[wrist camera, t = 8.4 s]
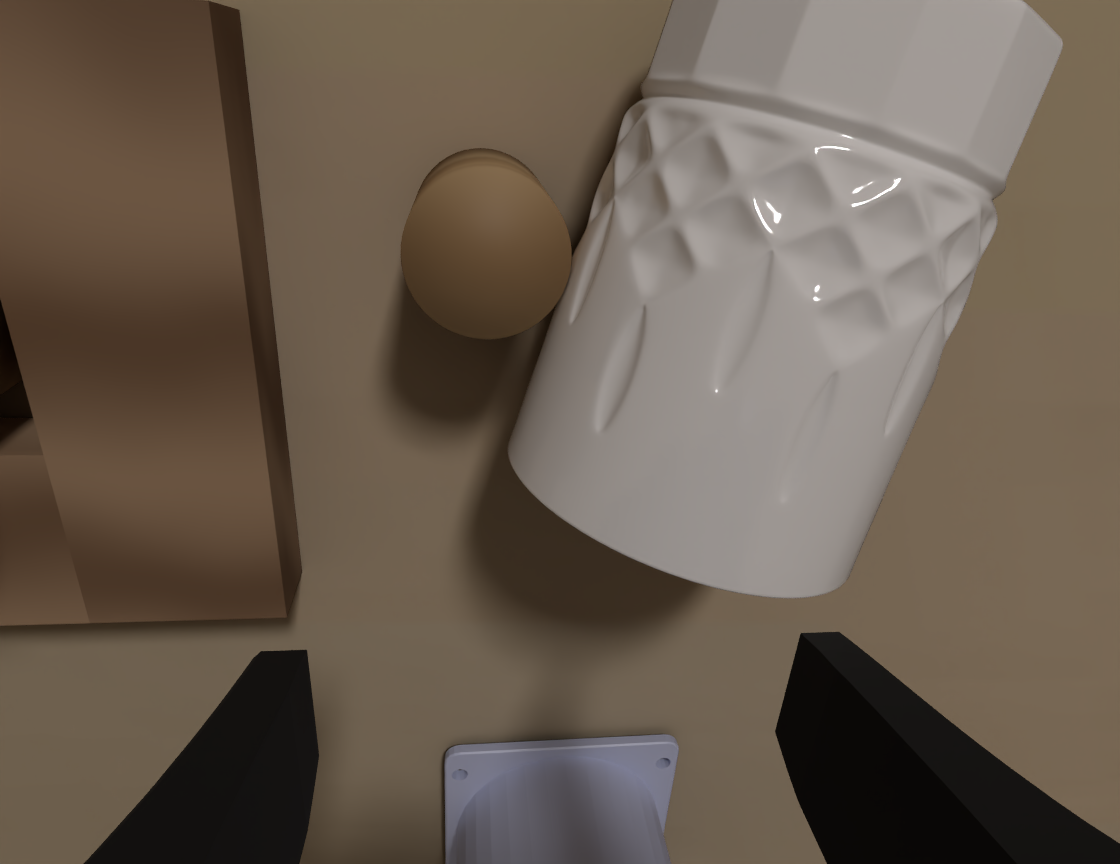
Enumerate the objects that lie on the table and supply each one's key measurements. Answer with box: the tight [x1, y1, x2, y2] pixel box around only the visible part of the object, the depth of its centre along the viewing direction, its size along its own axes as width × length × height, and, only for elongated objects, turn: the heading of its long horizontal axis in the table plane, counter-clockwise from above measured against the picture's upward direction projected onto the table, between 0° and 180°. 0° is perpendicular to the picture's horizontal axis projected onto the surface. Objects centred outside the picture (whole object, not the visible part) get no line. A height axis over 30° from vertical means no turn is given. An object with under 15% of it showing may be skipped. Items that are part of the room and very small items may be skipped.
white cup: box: [508, 0, 1063, 598], centre depth 15 cm, size 8×8×10 cm
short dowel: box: [401, 148, 571, 339], centre depth 16 cm, size 3×3×4 cm
